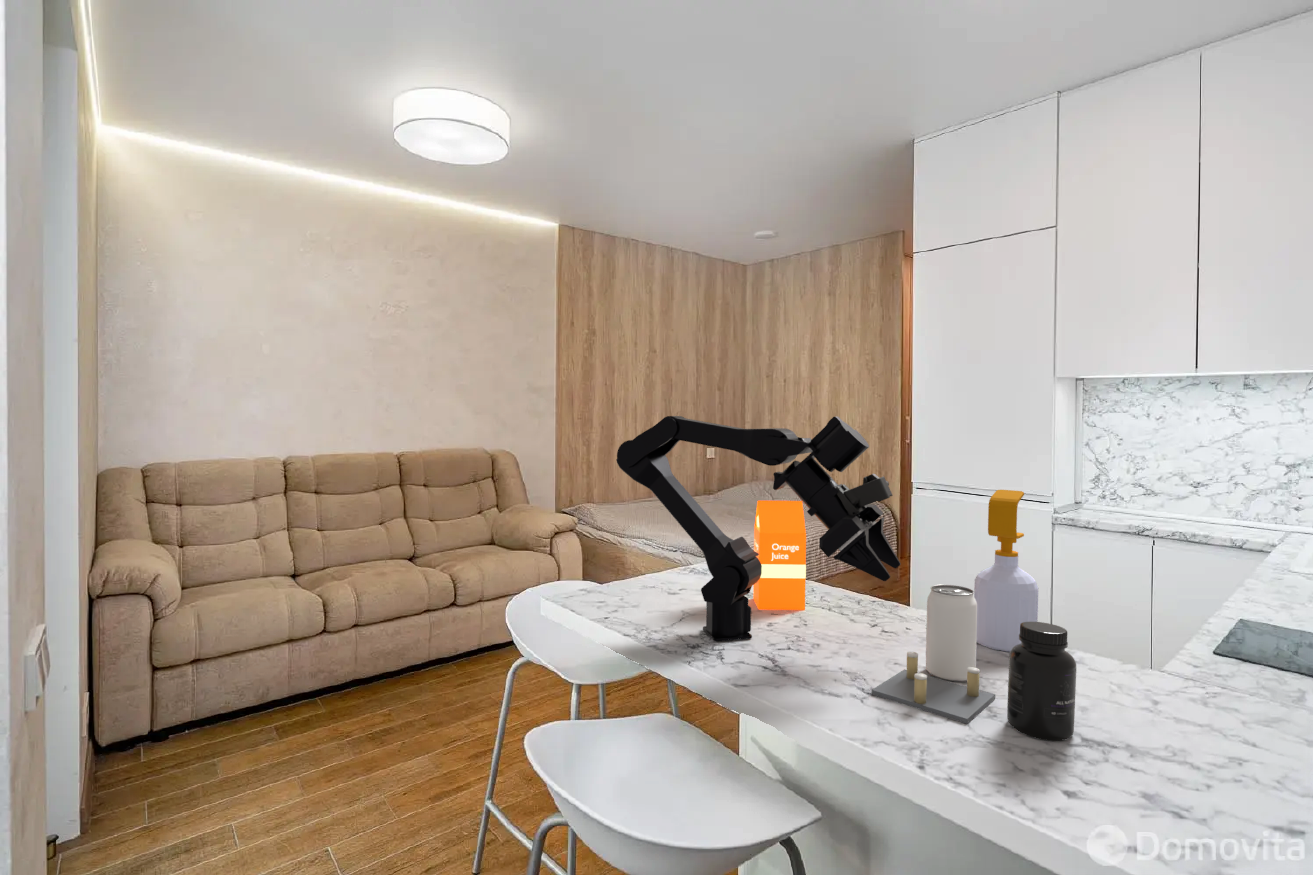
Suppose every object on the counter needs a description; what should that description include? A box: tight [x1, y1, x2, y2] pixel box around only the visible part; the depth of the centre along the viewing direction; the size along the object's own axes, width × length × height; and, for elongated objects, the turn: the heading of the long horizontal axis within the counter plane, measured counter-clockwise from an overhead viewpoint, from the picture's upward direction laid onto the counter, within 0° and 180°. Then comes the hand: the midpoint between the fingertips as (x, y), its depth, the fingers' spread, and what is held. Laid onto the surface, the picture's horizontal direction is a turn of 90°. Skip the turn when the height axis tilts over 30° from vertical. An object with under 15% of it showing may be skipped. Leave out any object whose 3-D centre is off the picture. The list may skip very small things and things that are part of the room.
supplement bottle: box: [1006, 621, 1077, 742], centre depth 79 cm, size 7×7×12 cm
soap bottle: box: [973, 489, 1039, 653], centre depth 108 cm, size 9×9×25 cm
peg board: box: [871, 651, 996, 725], centre depth 88 cm, size 12×10×4 cm
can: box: [925, 584, 977, 683], centre depth 95 cm, size 6×6×12 cm
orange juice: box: [752, 500, 807, 611], centre depth 130 cm, size 8×9×20 cm
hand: (893, 572), depth 99 cm, fingers open, 9 cm apart
